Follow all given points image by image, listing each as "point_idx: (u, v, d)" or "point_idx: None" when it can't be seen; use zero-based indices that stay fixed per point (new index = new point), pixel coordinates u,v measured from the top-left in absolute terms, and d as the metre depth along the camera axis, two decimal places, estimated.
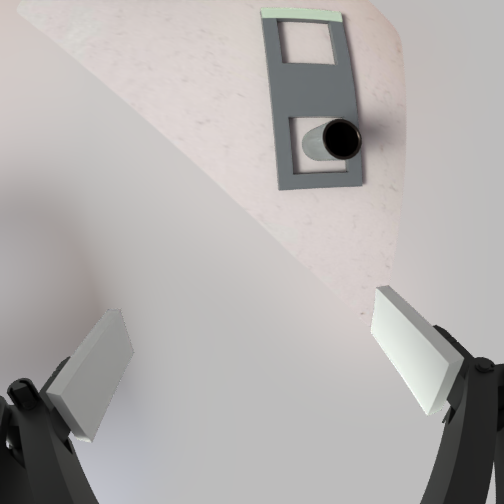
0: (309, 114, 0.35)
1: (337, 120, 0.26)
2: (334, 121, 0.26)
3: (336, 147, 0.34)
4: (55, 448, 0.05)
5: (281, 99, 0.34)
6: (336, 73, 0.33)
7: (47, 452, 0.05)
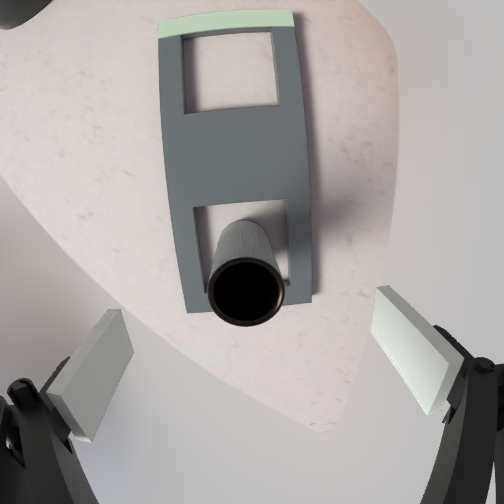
0: (226, 200, 0.24)
1: (235, 261, 0.16)
2: (228, 264, 0.16)
3: None
4: (55, 448, 0.05)
5: (181, 179, 0.23)
6: (276, 122, 0.22)
7: (47, 452, 0.05)
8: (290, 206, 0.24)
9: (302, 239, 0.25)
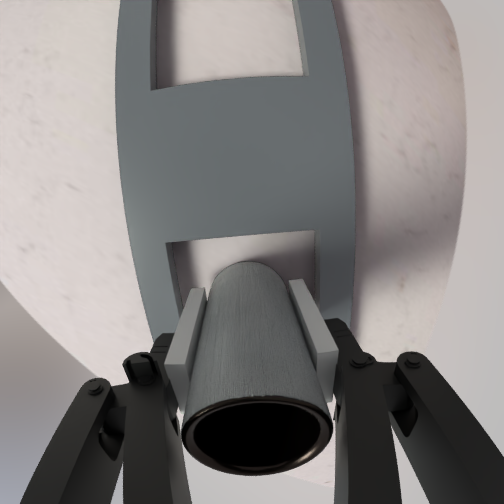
0: (220, 232, 0.14)
1: (236, 403, 0.06)
2: (220, 407, 0.06)
3: None
4: (166, 432, 0.06)
5: (146, 196, 0.14)
6: (303, 101, 0.12)
7: (156, 434, 0.06)
8: (324, 241, 0.15)
9: (340, 291, 0.16)
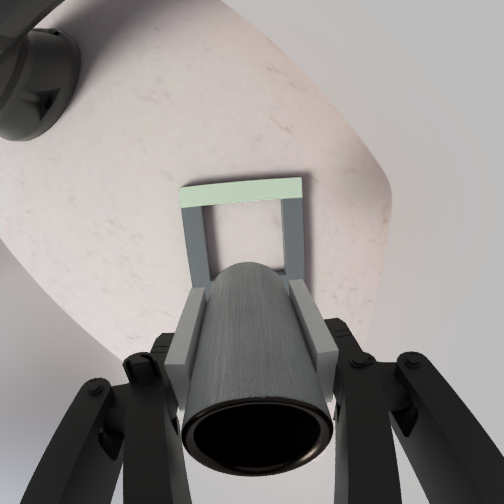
0: None
1: (236, 405, 0.06)
2: (220, 409, 0.06)
3: None
4: (166, 432, 0.06)
5: None
6: None
7: (156, 435, 0.06)
8: None
9: None
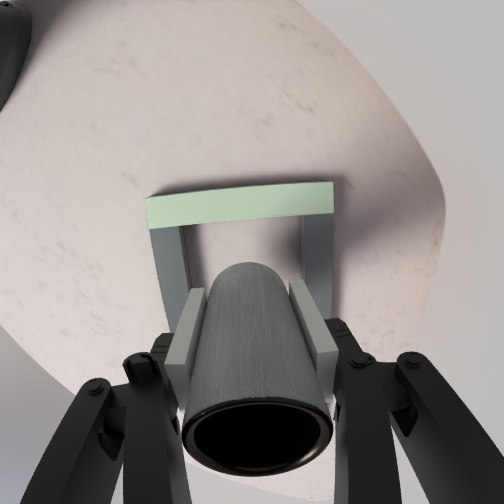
0: None
1: (236, 405, 0.06)
2: (220, 409, 0.06)
3: None
4: (166, 432, 0.06)
5: None
6: None
7: (156, 435, 0.06)
8: None
9: None
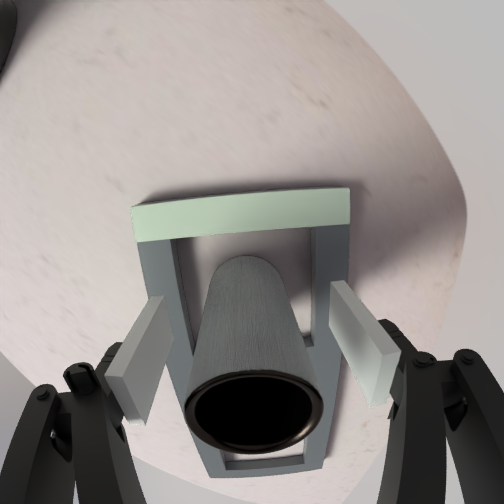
0: None
1: (234, 377, 0.07)
2: (220, 381, 0.07)
3: None
4: (109, 437, 0.06)
5: None
6: None
7: (100, 440, 0.06)
8: None
9: (319, 440, 0.21)
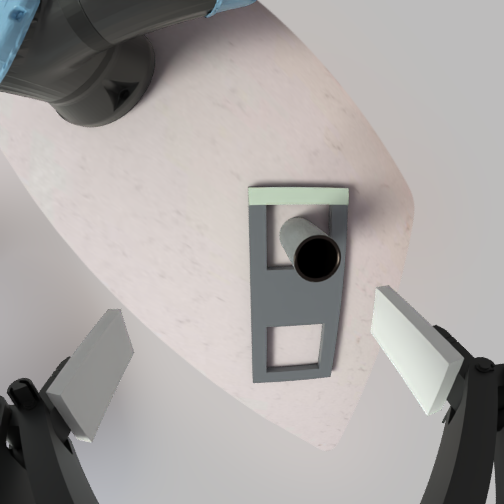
0: (288, 323, 0.37)
1: (314, 237, 0.25)
2: (310, 238, 0.25)
3: (316, 245, 0.32)
4: (55, 448, 0.05)
5: (261, 310, 0.36)
6: None
7: (47, 452, 0.05)
8: (326, 327, 0.37)
9: (330, 344, 0.38)
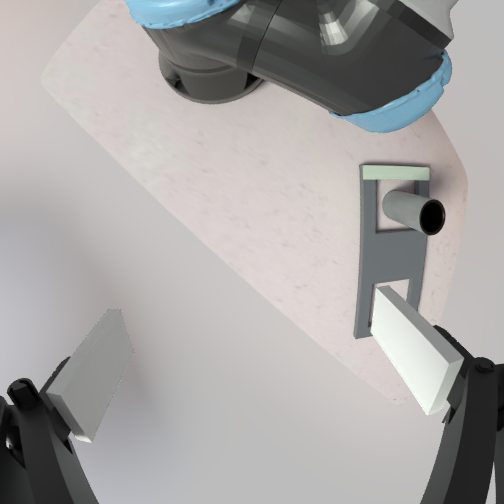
0: (388, 280, 0.42)
1: (431, 201, 0.29)
2: (429, 202, 0.29)
3: None
4: (55, 448, 0.05)
5: (369, 269, 0.41)
6: (415, 239, 0.40)
7: (47, 452, 0.05)
8: (414, 281, 0.42)
9: (415, 296, 0.43)
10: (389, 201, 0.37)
